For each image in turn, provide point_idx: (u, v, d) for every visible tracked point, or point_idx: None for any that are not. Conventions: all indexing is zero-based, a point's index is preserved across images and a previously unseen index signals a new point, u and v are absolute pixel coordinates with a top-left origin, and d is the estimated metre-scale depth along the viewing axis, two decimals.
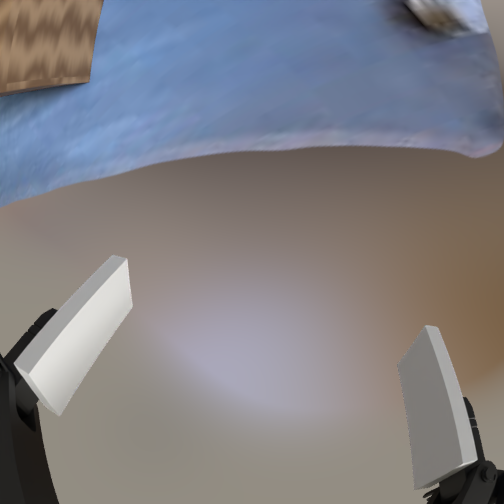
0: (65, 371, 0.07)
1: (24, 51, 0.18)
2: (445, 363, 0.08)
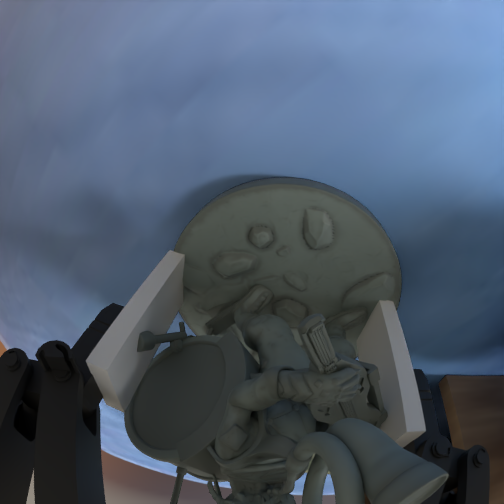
0: (133, 365, 0.08)
1: None
2: (395, 332, 0.10)
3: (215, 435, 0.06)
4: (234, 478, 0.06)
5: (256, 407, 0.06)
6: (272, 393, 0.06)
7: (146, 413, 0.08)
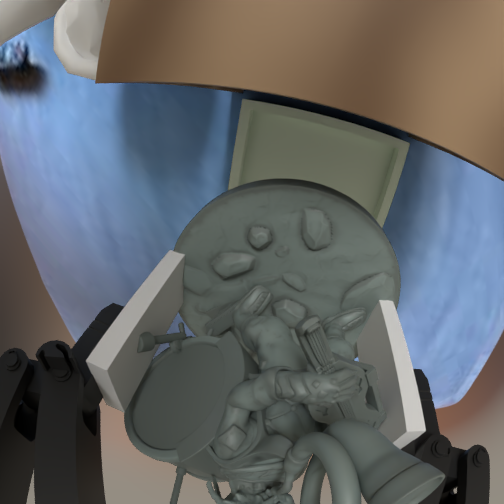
0: (134, 365, 0.08)
1: None
2: (395, 332, 0.10)
3: (214, 435, 0.06)
4: (233, 478, 0.06)
5: (254, 407, 0.06)
6: (270, 393, 0.06)
7: (146, 413, 0.08)
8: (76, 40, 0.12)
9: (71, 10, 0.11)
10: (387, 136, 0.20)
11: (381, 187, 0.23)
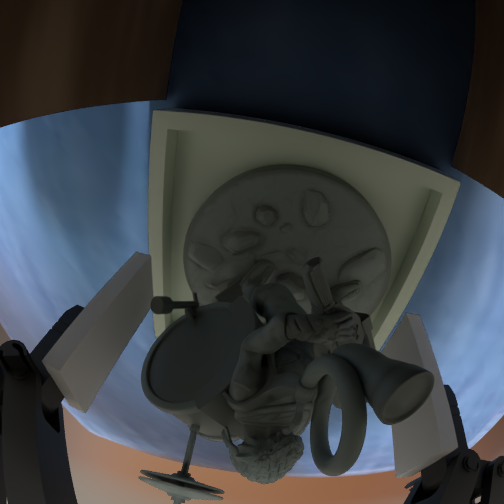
0: (92, 367, 0.08)
1: None
2: (425, 349, 0.09)
3: (230, 381, 0.08)
4: (247, 422, 0.07)
5: (267, 349, 0.08)
6: (281, 333, 0.07)
7: (163, 373, 0.10)
8: None
9: None
10: (424, 170, 0.10)
11: (403, 254, 0.13)
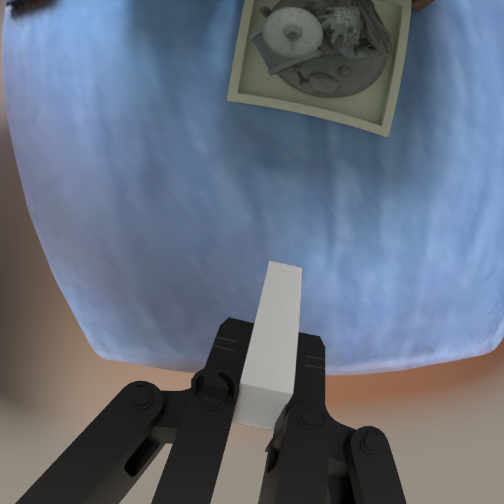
0: None
1: None
2: (291, 295, 0.11)
3: (314, 5, 0.12)
4: None
5: None
6: None
7: None
8: None
9: None
10: None
11: (393, 40, 0.17)
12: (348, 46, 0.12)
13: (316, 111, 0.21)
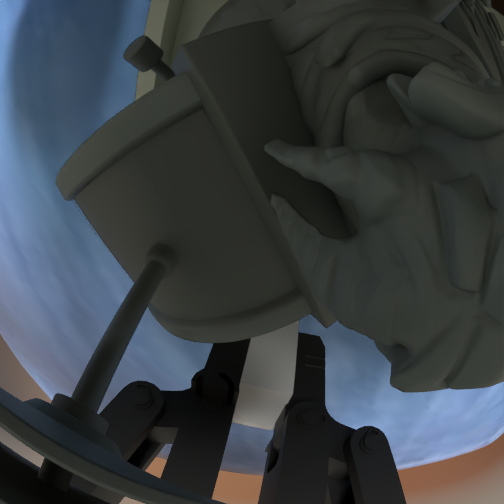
0: None
1: None
2: None
3: None
4: (379, 53, 0.01)
5: None
6: None
7: None
8: None
9: None
10: None
11: None
12: None
13: None
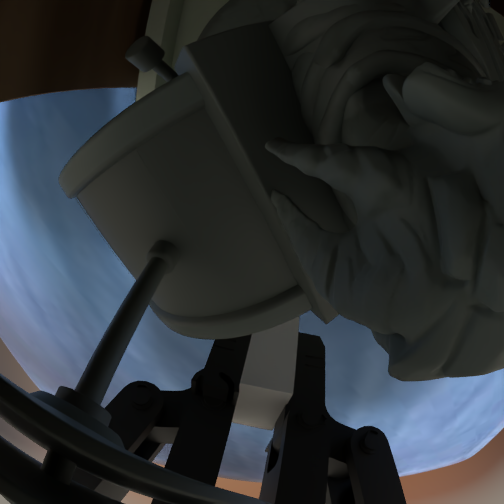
0: None
1: None
2: None
3: None
4: (377, 54, 0.02)
5: None
6: None
7: None
8: None
9: None
10: None
11: None
12: None
13: None
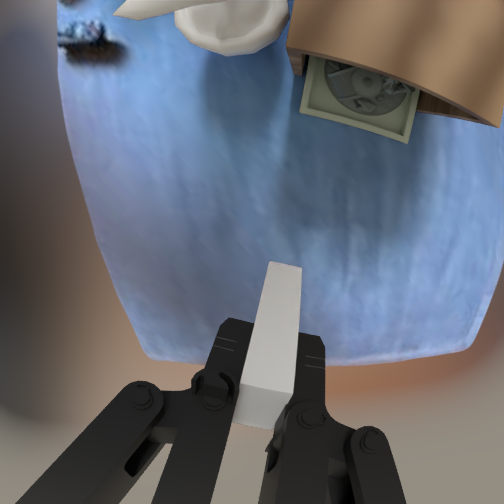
0: None
1: None
2: (291, 295, 0.11)
3: None
4: None
5: None
6: None
7: None
8: (198, 21, 0.21)
9: None
10: None
11: None
12: (391, 88, 0.21)
13: (360, 124, 0.30)
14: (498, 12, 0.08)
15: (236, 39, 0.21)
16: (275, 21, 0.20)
